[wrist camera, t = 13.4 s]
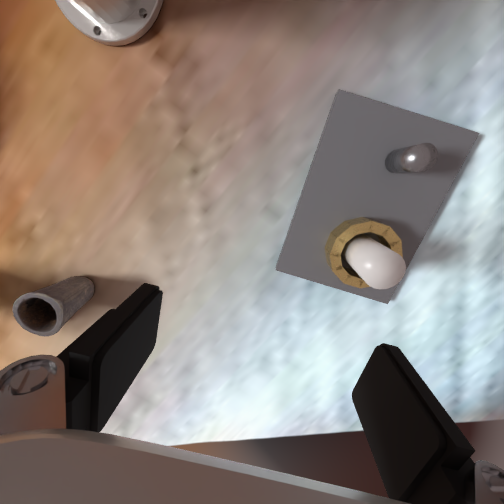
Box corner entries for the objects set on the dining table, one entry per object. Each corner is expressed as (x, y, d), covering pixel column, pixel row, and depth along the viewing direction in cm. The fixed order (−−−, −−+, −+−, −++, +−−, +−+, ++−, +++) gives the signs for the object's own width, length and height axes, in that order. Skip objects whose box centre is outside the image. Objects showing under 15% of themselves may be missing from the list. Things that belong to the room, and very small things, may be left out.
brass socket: (339, 209, 29) (346, 213, 27) (401, 228, 30) (415, 234, 27) (316, 267, 32) (320, 276, 29) (373, 284, 32) (383, 295, 29)
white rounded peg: (346, 229, 30) (371, 246, 22) (377, 237, 30) (412, 256, 22) (335, 258, 31) (356, 283, 24) (365, 266, 31) (395, 293, 24)
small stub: (391, 146, 27) (416, 139, 22) (413, 152, 27) (443, 147, 22) (380, 169, 28) (403, 167, 23) (402, 176, 28) (429, 175, 23)
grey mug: (34, 299, 39) (-25, 328, 31) (88, 260, 36) (38, 282, 28) (61, 327, 40) (11, 362, 32) (115, 291, 37) (74, 321, 29)
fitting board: (336, 93, 27) (339, 89, 26) (470, 135, 27) (479, 133, 26) (275, 266, 34) (275, 270, 32) (383, 299, 34) (387, 304, 33)
